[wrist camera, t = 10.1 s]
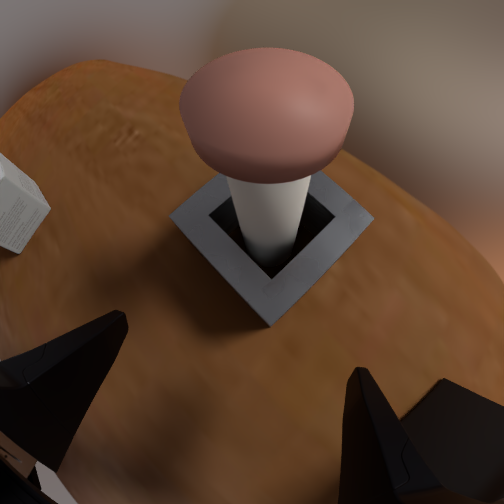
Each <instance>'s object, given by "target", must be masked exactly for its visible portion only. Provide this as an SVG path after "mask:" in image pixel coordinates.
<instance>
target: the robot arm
mask: <svg viewBox="0 0 504 504" xmlns="http://www.w3.org/2000/svg"><path fill="white" fill-rule="evenodd" d="M127 333H128V323H127V319H126V314H125V313H124V312H122V311H119V310H114V311H112V312H109V313H107V314H105V315H103V316H101V317H99V318H97V319H95V320H93V321H91V322H89V323H86V324H84V325H82V326H80V327H78V328H76V329H74V330H72V331H70V332H68V333H66V334H64V335H62V336H59V337H57V338H55V339H53V340H51V341H49V342H47V343H45V344H43V345H41V346H39V347H36V348H34V349H32V350H30V351H27V352H25V353H22V354H20V355H17V356H14V357H12V358H9V359H6V360H3V361H0V504H58V503H56V502H55V501H54V500H52V499H51V498H50V497H48V496H47V495H46V494H44V493H43V492H42V491H41V486H40V482H39V479H38V475H37V471H36V467H35V464H36V462H37V460H38V461H39V462H40V463H42V464H44V465H45V466H47V467H48V468H49V469H51V470H52V471H54V472H57V471H58V469H59V467H60V464H61V462H62V460H63V458H64V456H65V454H66V452H67V450H68V448H69V446H70V444H71V441H72V439H73V436H74V435H75V433H76V431H77V429H78V427H79V425H80V423H81V421H82V419H83V418H84V416H85V414H86V412H87V410H88V408H89V406H90V404H91V402H92V401H93V399H94V397H95V395H96V393H97V391H98V390H99V388H100V386H101V384H102V383H103V381H104V379H105V377H106V375H107V374H108V372H109V370H110V368H111V367H112V365H113V363H114V361H115V359H116V357H117V355H118V352H119V350H120V348H121V346H122V344H123V341H124V339H125V337H126V335H127ZM338 504H504V498H502V499H500V500H498V501H496V502H494V503H485V502H481V501H478V500H475V499H472V498H469V497H466V496H463V495H461V494H458V493H455V492H453V491H451V490H449V489H447V488H446V487H445V486H444V485H443V484H442V483H441V482H440V481H439V480H438V478H437V477H436V476H435V474H434V473H433V472H432V470H431V469H430V467H429V466H428V465H427V463H426V462H425V461H424V459H423V458H422V456H421V455H420V454H419V452H418V450H417V449H416V447H415V446H414V444H413V442H412V441H411V439H410V437H409V436H408V434H407V432H406V431H405V429H404V427H403V425H402V424H401V422H400V421H399V419H398V417H397V416H396V414H395V412H394V411H393V409H392V407H391V406H390V404H389V402H388V401H387V399H386V398H385V396H384V394H383V393H382V391H381V390H380V388H379V386H378V385H377V383H376V382H375V380H374V378H373V377H372V375H371V374H370V372H369V370H368V369H367V368H364V367H356V368H355V369H354V371H353V373H352V374H351V376H350V377H349V379H348V382H347V387H346V396H345V405H344V412H343V424H342V455H341V473H340V486H339V497H338Z"/></svg>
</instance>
